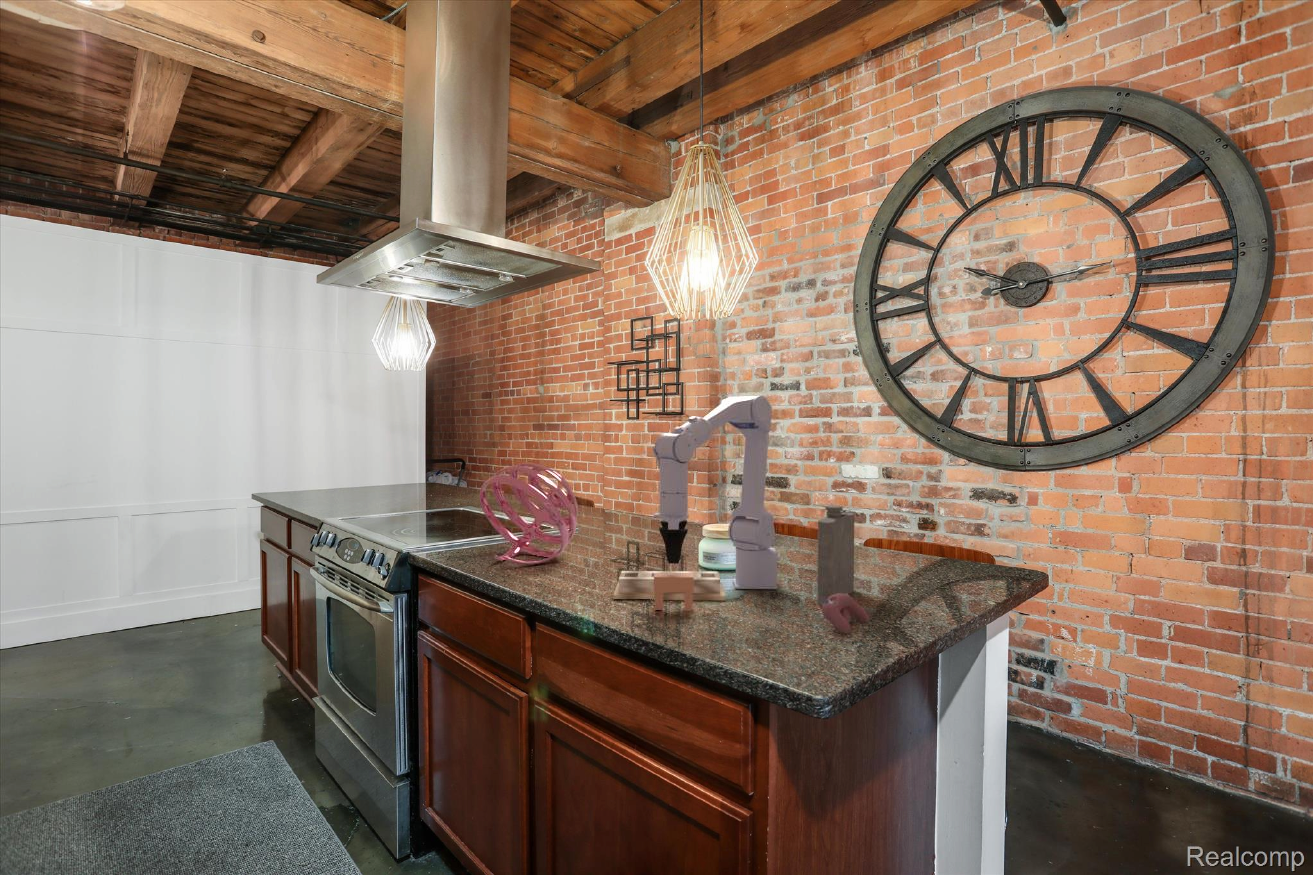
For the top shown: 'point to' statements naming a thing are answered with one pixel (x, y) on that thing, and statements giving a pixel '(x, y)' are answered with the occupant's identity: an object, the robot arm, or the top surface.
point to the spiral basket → (532, 510)
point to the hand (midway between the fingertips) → (673, 558)
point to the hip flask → (835, 553)
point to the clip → (674, 588)
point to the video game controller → (843, 611)
